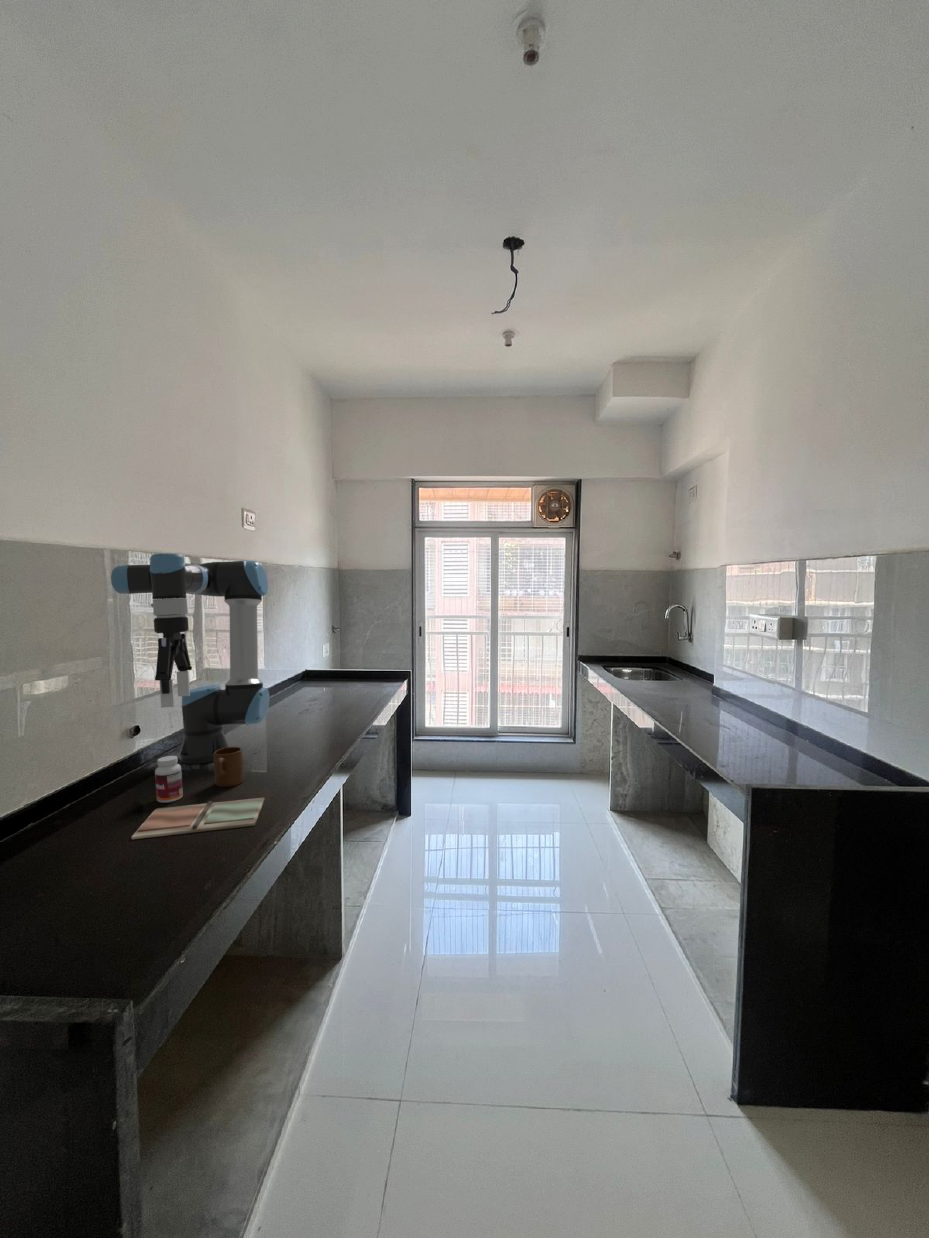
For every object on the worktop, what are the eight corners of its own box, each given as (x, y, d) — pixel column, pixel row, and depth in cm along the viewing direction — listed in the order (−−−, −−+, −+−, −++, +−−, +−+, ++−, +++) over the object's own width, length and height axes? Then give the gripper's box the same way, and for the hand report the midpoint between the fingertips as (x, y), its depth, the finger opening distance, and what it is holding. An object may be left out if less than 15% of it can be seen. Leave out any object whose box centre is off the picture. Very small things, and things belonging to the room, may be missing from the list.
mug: (233, 793, 150) (231, 759, 150) (204, 794, 150) (202, 760, 149) (247, 777, 162) (246, 746, 162) (221, 779, 162) (219, 747, 161)
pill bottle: (152, 799, 147) (150, 759, 147) (177, 792, 152) (174, 753, 151) (162, 805, 143) (159, 763, 143) (187, 797, 148) (184, 757, 147)
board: (155, 811, 140) (155, 805, 140) (264, 799, 145) (264, 794, 145) (131, 839, 124) (131, 833, 124) (254, 825, 129) (254, 819, 129)
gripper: (169, 614, 149) (174, 692, 150) (135, 619, 124) (142, 713, 126) (199, 613, 150) (204, 690, 152) (172, 618, 126) (178, 710, 127)
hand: (176, 701), depth 139 cm, fingers open, 13 cm apart
